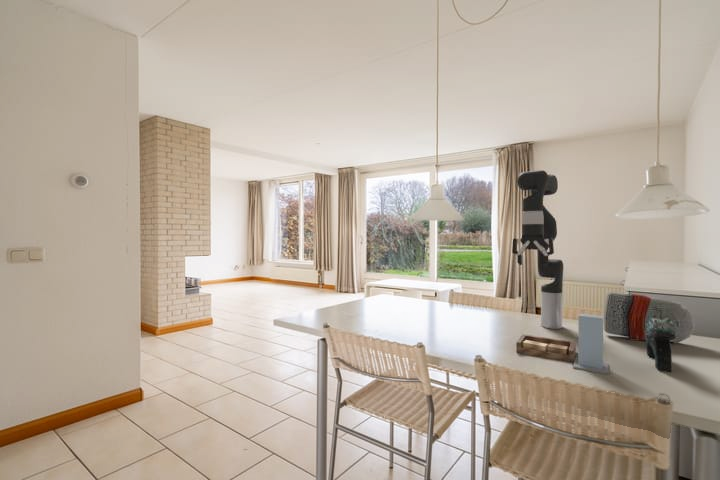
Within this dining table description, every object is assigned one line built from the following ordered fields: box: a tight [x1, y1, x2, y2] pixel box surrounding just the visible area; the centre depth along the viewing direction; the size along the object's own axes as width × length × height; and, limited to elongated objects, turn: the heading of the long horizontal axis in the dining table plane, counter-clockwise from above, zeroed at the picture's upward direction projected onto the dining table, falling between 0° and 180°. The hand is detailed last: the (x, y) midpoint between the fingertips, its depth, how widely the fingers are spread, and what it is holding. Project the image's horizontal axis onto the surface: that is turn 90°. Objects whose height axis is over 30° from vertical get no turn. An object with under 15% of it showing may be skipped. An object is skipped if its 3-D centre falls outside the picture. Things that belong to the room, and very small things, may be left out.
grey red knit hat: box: [603, 291, 696, 344], centre depth 152 cm, size 19×6×30 cm
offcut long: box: [523, 340, 548, 352], centre depth 137 cm, size 8×4×4 cm, turn 49°
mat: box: [572, 357, 610, 375], centre depth 122 cm, size 10×10×1 cm
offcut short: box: [548, 344, 568, 355], centre depth 132 cm, size 6×4×4 cm, turn 51°
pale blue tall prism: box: [577, 313, 604, 369], centre depth 122 cm, size 7×4×17 cm, turn 56°
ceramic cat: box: [645, 308, 675, 373], centre depth 125 cm, size 20×6×20 cm, turn 151°
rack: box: [515, 333, 577, 363], centre depth 137 cm, size 19×13×4 cm
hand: (532, 265), depth 136 cm, fingers open, 8 cm apart
